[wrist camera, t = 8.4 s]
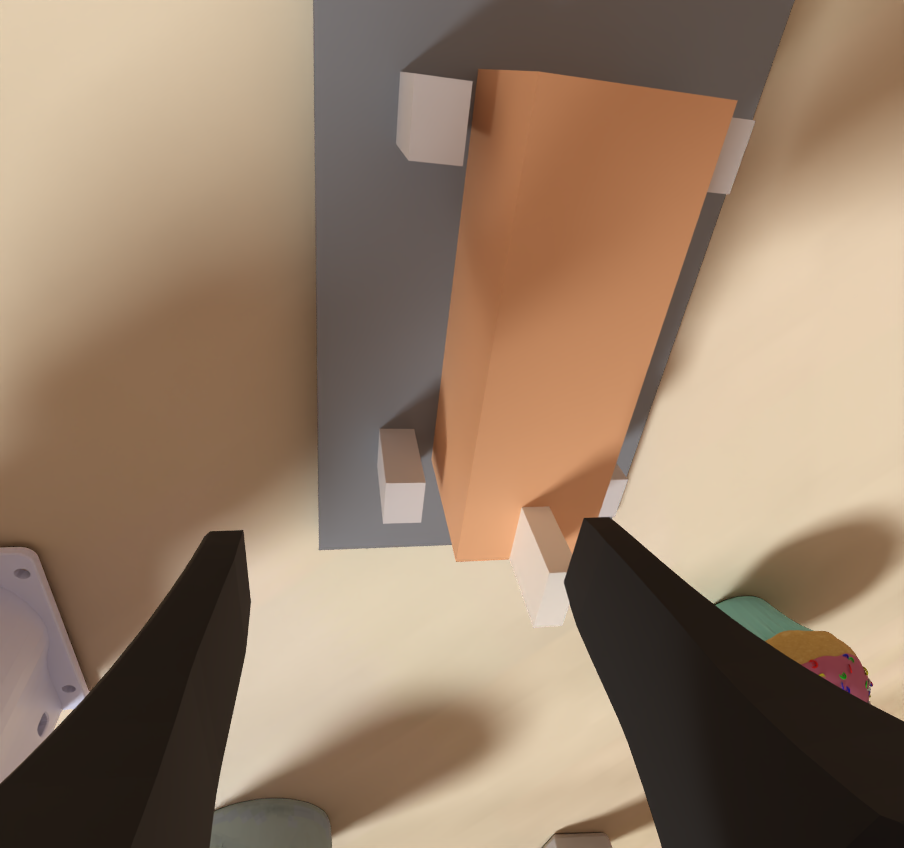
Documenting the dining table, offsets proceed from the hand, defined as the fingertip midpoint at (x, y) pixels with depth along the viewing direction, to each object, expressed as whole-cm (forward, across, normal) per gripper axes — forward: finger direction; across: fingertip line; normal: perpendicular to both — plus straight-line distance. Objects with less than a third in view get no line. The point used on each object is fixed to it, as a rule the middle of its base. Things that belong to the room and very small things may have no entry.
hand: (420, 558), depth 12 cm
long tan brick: (+8, -4, -3) cm, 9 cm away
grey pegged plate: (+9, -4, -3) cm, 10 cm away
